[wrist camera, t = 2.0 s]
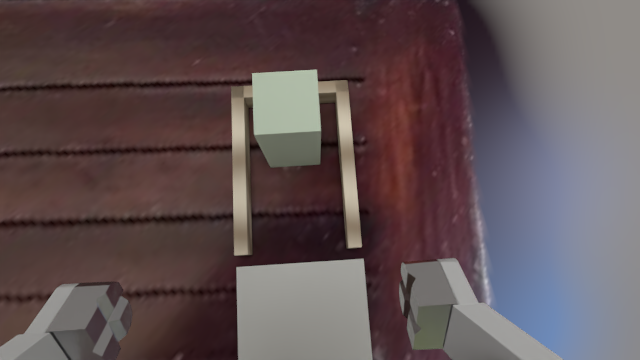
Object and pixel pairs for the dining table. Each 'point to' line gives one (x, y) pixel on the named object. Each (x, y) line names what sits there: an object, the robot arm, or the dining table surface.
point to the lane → (241, 163)
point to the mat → (303, 311)
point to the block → (287, 117)
